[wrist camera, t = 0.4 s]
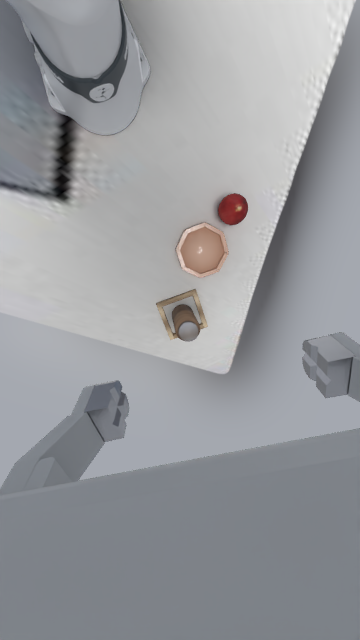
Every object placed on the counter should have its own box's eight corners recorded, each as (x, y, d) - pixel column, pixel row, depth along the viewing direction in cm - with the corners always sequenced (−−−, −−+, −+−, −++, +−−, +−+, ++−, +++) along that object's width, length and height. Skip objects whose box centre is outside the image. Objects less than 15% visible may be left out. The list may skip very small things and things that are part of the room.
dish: (170, 234, 52) (171, 234, 50) (217, 217, 52) (219, 217, 50) (186, 281, 56) (187, 282, 54) (229, 265, 56) (232, 266, 54)
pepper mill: (168, 308, 58) (172, 325, 47) (188, 301, 58) (197, 316, 47) (175, 327, 60) (180, 347, 49) (195, 320, 60) (204, 339, 49)
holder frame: (156, 303, 57) (156, 304, 56) (195, 289, 57) (196, 290, 56) (170, 338, 61) (170, 340, 60) (207, 325, 60) (207, 326, 60)
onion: (233, 190, 50) (247, 183, 43) (244, 216, 52) (260, 213, 45) (210, 206, 51) (219, 201, 44) (222, 230, 53) (233, 230, 45)
